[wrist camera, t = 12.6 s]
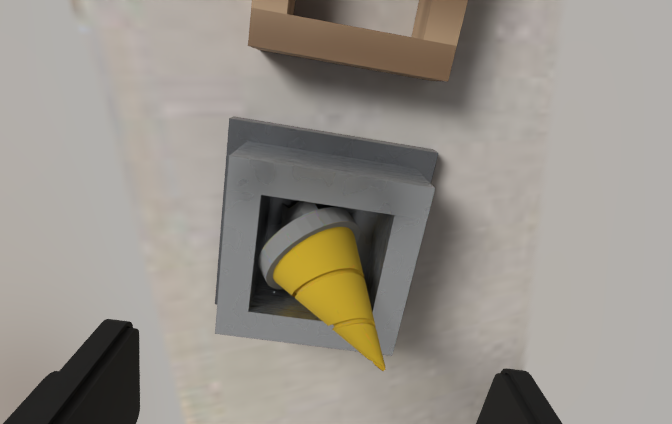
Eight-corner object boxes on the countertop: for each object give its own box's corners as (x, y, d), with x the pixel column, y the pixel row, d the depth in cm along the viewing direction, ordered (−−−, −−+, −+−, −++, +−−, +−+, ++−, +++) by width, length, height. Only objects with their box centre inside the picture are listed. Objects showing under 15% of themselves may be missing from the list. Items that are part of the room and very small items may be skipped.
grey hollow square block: (233, 116, 21) (206, 128, 16) (433, 149, 22) (463, 169, 17) (219, 295, 24) (193, 347, 20) (391, 318, 25) (406, 373, 20)
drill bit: (337, 162, 21) (456, 319, 17) (307, 225, 25) (399, 369, 20) (246, 173, 18) (362, 371, 14) (227, 243, 22) (313, 419, 17)
